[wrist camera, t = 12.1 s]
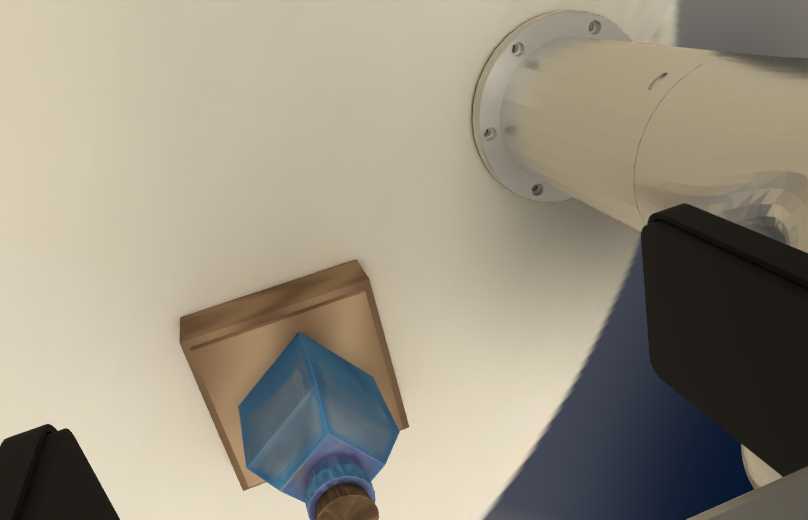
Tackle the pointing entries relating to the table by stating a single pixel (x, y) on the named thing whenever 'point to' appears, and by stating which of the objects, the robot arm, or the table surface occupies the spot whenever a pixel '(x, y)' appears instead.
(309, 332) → the pedestal
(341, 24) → the table surface
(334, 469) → the perfume bottle
